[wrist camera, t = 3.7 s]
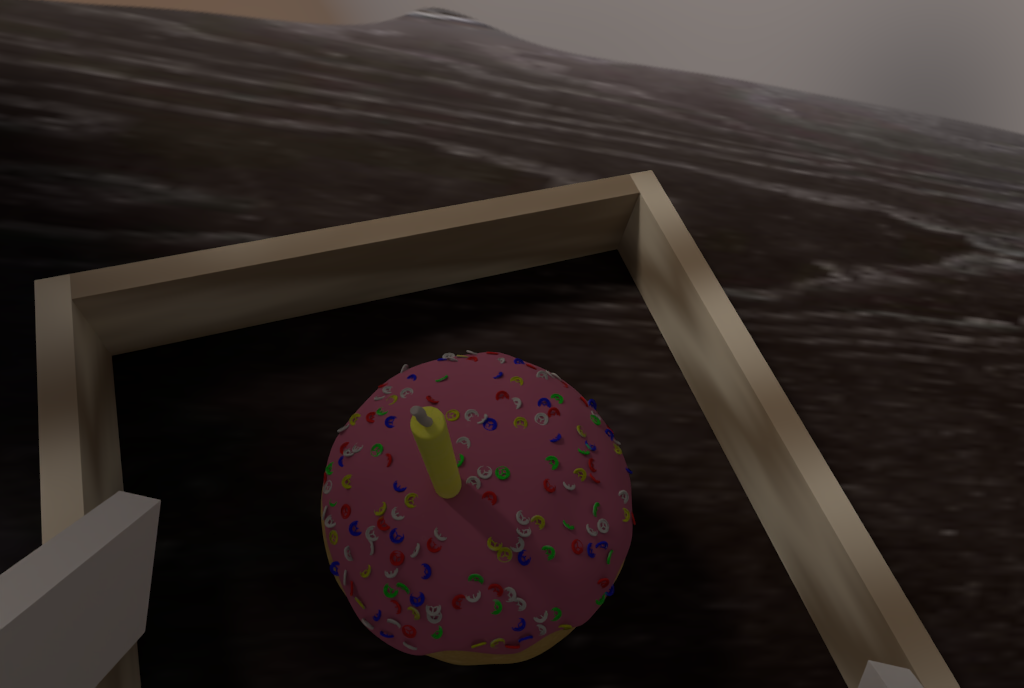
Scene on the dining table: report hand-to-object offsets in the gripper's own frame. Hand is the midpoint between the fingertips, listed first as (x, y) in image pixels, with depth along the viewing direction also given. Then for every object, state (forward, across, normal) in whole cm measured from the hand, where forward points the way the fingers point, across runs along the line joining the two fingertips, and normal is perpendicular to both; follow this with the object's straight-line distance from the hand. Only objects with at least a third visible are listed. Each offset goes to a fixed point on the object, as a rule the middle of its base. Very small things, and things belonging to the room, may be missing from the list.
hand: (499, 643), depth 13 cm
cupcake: (+10, -1, -4) cm, 10 cm away
